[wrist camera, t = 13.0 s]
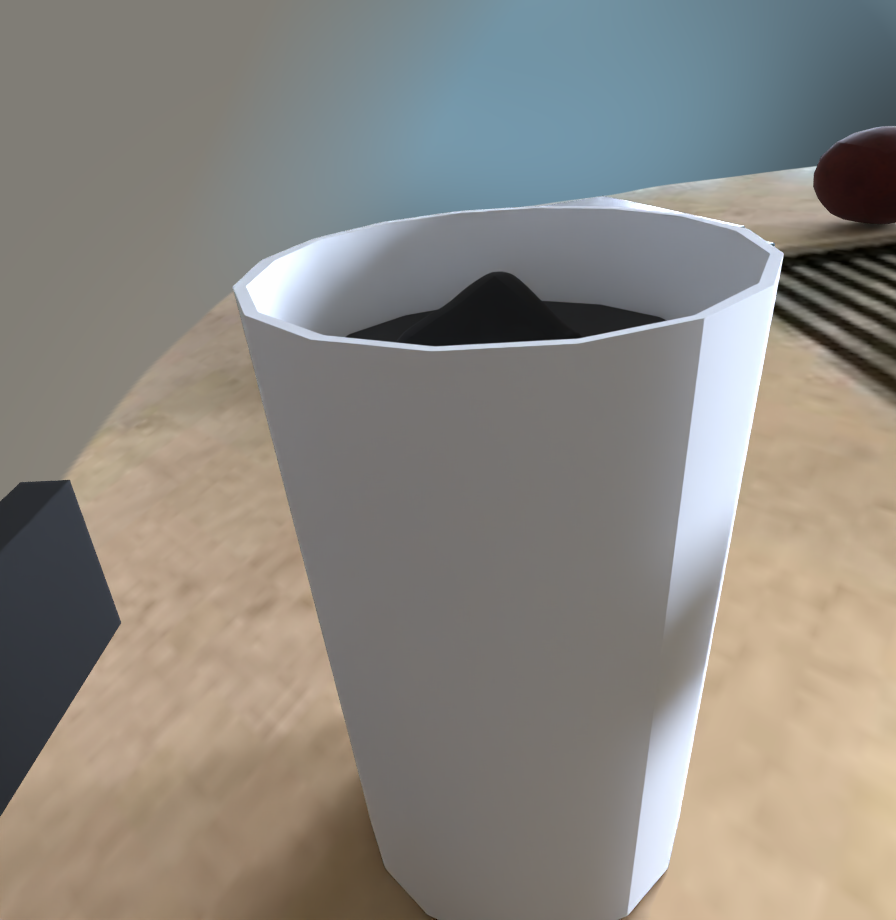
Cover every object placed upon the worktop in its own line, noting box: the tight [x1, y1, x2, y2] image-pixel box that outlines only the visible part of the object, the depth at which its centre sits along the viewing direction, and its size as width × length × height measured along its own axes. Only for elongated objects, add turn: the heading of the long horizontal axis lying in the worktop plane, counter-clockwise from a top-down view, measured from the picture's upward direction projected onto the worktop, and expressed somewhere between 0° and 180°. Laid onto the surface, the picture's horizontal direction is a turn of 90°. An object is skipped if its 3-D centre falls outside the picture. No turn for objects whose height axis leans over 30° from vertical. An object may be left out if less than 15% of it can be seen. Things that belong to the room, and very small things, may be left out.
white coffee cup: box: [233, 206, 784, 920], centre depth 12 cm, size 7×7×10 cm
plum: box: [813, 126, 896, 224], centre depth 50 cm, size 7×8×6 cm
